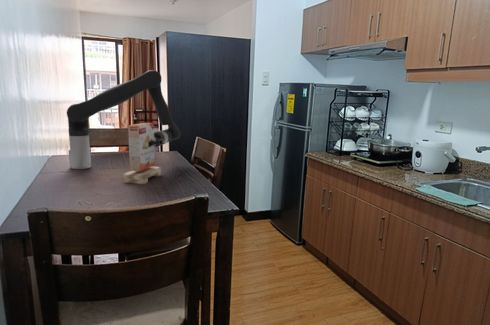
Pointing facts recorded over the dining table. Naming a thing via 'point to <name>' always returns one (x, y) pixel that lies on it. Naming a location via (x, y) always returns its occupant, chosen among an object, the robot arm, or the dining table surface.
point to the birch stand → (141, 175)
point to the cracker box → (141, 146)
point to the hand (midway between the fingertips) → (142, 143)
